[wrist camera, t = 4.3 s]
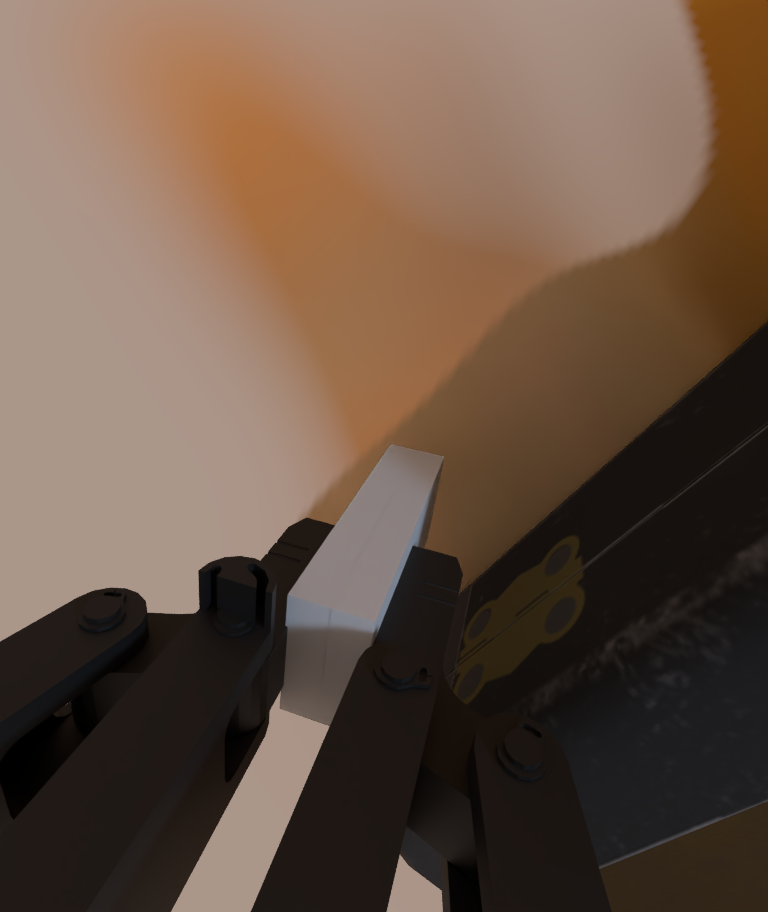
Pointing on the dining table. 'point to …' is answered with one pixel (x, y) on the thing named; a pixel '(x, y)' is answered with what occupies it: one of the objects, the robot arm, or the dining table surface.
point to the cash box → (647, 650)
